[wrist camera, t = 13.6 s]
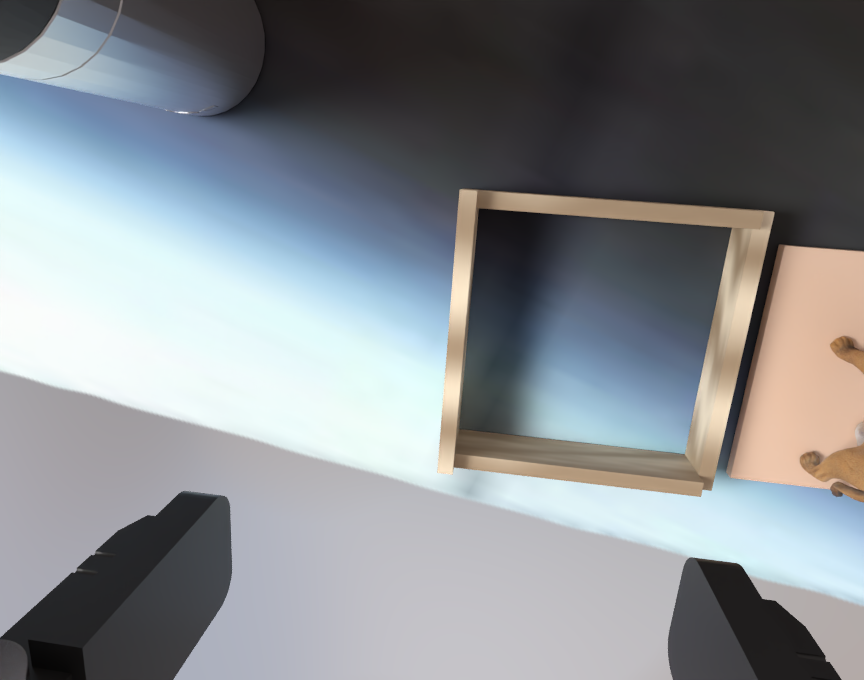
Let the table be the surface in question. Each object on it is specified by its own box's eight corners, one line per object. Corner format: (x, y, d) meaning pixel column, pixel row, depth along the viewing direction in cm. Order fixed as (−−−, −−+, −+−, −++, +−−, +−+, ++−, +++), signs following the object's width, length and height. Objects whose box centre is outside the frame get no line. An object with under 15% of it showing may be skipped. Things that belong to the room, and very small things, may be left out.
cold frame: (465, 188, 37) (459, 189, 33) (752, 209, 36) (791, 213, 31) (444, 439, 42) (437, 472, 38) (696, 468, 41) (722, 507, 36)
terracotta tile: (778, 244, 36) (785, 245, 35) (985, 260, 35) (996, 262, 34) (726, 472, 40) (730, 477, 40) (907, 493, 39) (915, 499, 39)
